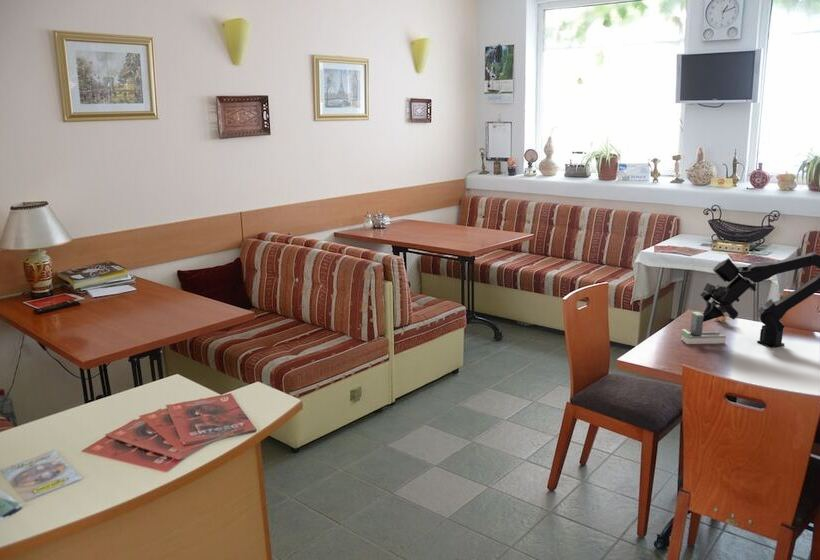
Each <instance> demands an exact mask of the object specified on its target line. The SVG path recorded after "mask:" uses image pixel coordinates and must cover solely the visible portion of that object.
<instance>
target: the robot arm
mask: <svg viewBox="0 0 820 560" xmlns="http://www.w3.org/2000/svg"><path fill="white" fill-rule="evenodd" d="M812 266H814V267H816V268H818V269H820V254H818V253H817V252H814V251H813V252H812V251H811V252H809V253H806V254H802V255H798V256H794V257H790V258H789V257H788V258H785V259H782V260H777V261H773V262H754V263H750V264H749V265H748V266H739V267H738V266H737V265H736V264H734V263H733V262H732V260H731V259H730V258H726V259H725V260H723V261H721V262H718V264H716V265H715V266H714V267H713V269H712V272H713V273H714V274H716V275H717V276H718V277H719V278H720V279H721V280H722V281H723V282H724V283H726V282H728V283H729V284H727V285H726V286H725V285H723V286H721V285H719V284H717V285H716V286H715V285H713V284H712V283H710V282H707V283H706V285H705V286H704V288H703V289H702V292H701V293H700V294H699V297H701V298H702V299H703V300H704V302H705V303H706V307H705V309H704V311H703V313H702V314H703V315H704V317H703V323H705V322H707V321H711V320H714V319H716V318H718V317H722V316H723V317H724V316H725V315H724V314H725V313H726V312H727V315H728V316H729V318H730V319H732V320H733V321H734V320H735V319H737V318H738V316H739V312H738V311H737V310H736V309H735V308H734V306H733V305H732V304H734V303H735V302H737V303H739V301H740V298H741V296H742V295H744V294H745V293H746V292H747V291H748V290H749V291H751V292H756V291H757V288H756V287H757V286H756V285H757V284H756V283H761V282H763V281H765V280H768V279H770V278H771V277H774V276H775V275H777V274H784V273H787V272H790V271H795V270H799V269H802V268H803V269H804V268H807V267H812ZM752 282H753V283H752ZM819 291H820V271H818V273H817V275H815V276H814V277H812V278H811V279H810V280H808V281H807V282H805V283H804V284H802V285H800V286H799V287H798V288H797V289H794V290H793V291H792V292H790V293H788V294H787V295H786V296H784V297H783V298H780V299H778V300H776V301H773V299H772V298H770V299H769V300H768V301H766V302H765V303H763V304H760V306H761V307H759V309H758V310H757V316H758V318H759V320H760V321H761V323H762V324H763V325H761V329H760V334H759V340H757V343H759V344H761V345H764V346H767V347H770V348H776V347H782V346H783V347H784V346H785V343H784V342H782V341H783V333H784V328H785V325H784V323H783V322H782V320H781V319H782V318H783V317H784V316H785V315H786V314H787V312H788V311H789V310H791V309H792V308H794V307H795V306H797V305H798V304H800V303H802V302H803V301H805V300H807V299H808V298H810V297H811V296H813V295H815V294H816V293H817V292H819ZM731 305H732V306H733V307H732V306H731Z"/></svg>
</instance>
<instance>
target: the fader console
mask: <svg viewBox="0 0 820 560" xmlns="http://www.w3.org/2000/svg"><path fill="white" fill-rule="evenodd" d="M680 335H681V336H680V340H681V341H682V340H683V341H682V342H683V343H685V344H686V345H701V344H707V345H708V344H725V343H726V334H721V332H720V331H702V335H701V336H692V335H691V332H690V331H688V330H687V329H685V328H681V334H680Z"/></svg>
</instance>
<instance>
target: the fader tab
mask: <svg viewBox="0 0 820 560" xmlns="http://www.w3.org/2000/svg"><path fill="white" fill-rule="evenodd" d="M703 317H704V315H703V313H701V312H700V311H692V312H691V319H690V330H689V332H691V335H692V336H701V335H702V332H703V325H704V322H703Z"/></svg>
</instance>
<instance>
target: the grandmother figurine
mask: <svg viewBox="0 0 820 560" xmlns="http://www.w3.org/2000/svg"><path fill="white" fill-rule="evenodd" d="M733 304H734V303H733ZM733 304H732V305H731V306H732V307H733V308H734V306H733ZM724 315H725V316H724V317H723V316H722V317H718V318H714V319H712V320H713V322H721V323H726V319H727V315H728V313H727V312H726V313H725V314H724Z"/></svg>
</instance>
